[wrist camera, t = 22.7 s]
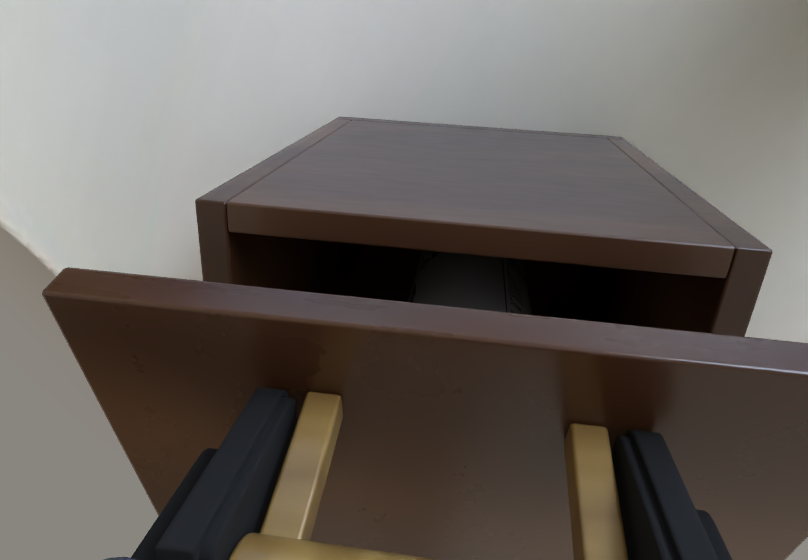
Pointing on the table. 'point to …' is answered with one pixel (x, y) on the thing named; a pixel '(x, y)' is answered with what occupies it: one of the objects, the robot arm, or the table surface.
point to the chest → (484, 222)
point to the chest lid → (442, 417)
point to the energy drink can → (471, 282)
